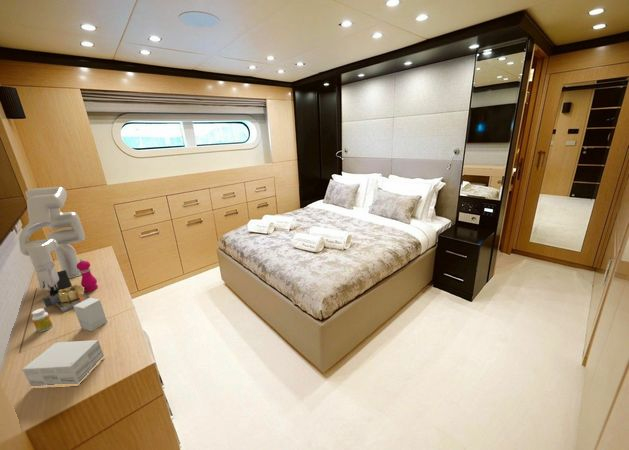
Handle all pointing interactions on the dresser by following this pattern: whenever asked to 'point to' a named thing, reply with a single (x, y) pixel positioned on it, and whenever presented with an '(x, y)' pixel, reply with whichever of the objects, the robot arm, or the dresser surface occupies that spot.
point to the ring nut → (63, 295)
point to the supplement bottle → (41, 320)
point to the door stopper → (63, 280)
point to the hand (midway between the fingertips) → (55, 296)
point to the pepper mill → (87, 276)
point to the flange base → (71, 302)
